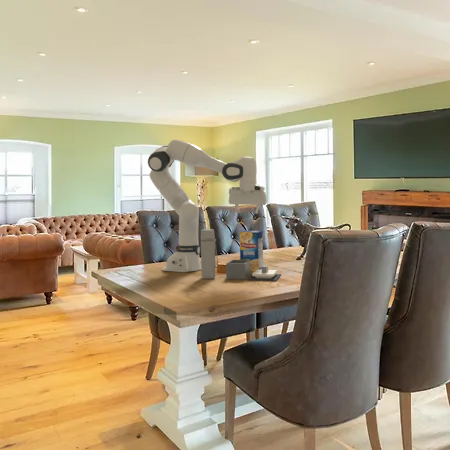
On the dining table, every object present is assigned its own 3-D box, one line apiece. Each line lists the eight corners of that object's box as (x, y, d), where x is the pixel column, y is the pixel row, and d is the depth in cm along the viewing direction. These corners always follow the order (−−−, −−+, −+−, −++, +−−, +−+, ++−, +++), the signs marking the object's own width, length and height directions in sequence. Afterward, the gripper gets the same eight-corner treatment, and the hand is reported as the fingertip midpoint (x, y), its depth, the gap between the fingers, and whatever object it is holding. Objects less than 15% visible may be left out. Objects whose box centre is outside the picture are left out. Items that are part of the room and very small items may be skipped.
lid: (252, 278, 237) (252, 267, 236) (257, 273, 249) (257, 263, 249) (273, 279, 234) (273, 268, 234) (277, 274, 246) (277, 264, 246)
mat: (248, 280, 236) (248, 279, 236) (255, 274, 251) (255, 273, 251) (276, 281, 232) (276, 280, 232) (281, 275, 247) (281, 274, 247)
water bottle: (205, 279, 239) (204, 230, 237) (198, 277, 246) (197, 229, 244) (221, 278, 243) (220, 229, 241) (214, 275, 250) (213, 228, 248)
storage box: (226, 278, 241) (226, 263, 240) (232, 274, 252) (232, 259, 252) (245, 279, 238) (245, 263, 237) (250, 274, 250) (250, 259, 249)
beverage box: (258, 272, 256) (258, 232, 254) (240, 271, 261) (239, 231, 259) (263, 270, 262) (262, 231, 261) (245, 269, 267) (244, 230, 265)
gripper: (227, 186, 251) (227, 212, 252) (265, 187, 245) (264, 214, 246) (230, 186, 257) (230, 212, 258) (267, 187, 251) (266, 213, 252)
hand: (247, 213), depth 252 cm, fingers open, 8 cm apart
